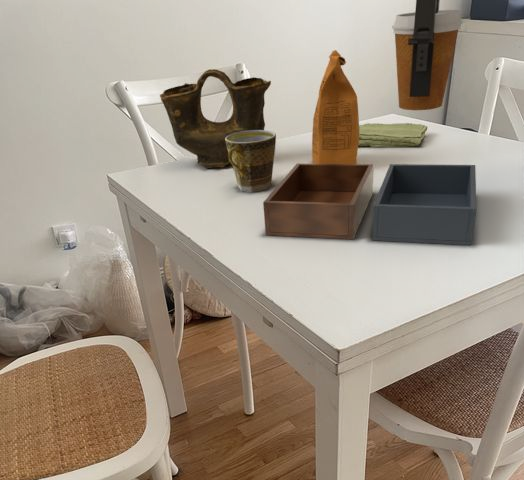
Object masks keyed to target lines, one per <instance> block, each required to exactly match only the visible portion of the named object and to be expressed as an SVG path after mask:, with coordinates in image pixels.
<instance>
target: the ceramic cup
mask: <svg viewBox="0 0 524 480" xmlns="http://www.w3.org/2000/svg"><path fill="white" fill-rule="evenodd" d="M225 141H226V145H227V149H228V153H229V161H230V162H229V164H231V165H232V168H233V172H234V176H235V179H236V184H237V186H238V188H239V189H240V191H241V192H245V193H246V192H247V193H254V192H261V191H265V190H267V189H268V188H270V187H271V186H272V181H273V170H274V162H275V161H274V159H275V154H276V145H277V144H276V142H277V134H276V133H275V132H274V131H271V130H266V129H264V130H250V131H243V132H238V133H234V134H231V135H229V136H227V137H226V138H225Z"/></svg>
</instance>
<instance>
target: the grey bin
mask: <svg viewBox="0 0 524 480" xmlns="http://www.w3.org/2000/svg"><path fill="white" fill-rule="evenodd" d="M476 177H477V176H476V164H422V163H421V164H420V163H419V164H418V163H417V164H412V163H411V164H408V163H407V164H406V163H405V164H404V163H390V164H389V166H388V168H387V170H386V174H385V176H384V179H383V181H382V184H381V186H380V188H379V191H378V192H377V193H378V194H377V196H376V199H375V201H374V203H373V206H372V231H371V232H372V233H371V240H372V241H377V242H399V243H419V244H420V243H421V244H439V245H459V246H460V245H461V246H472V240H473V234H474V227H475V222H476V221H475V220H476V214H477V178H476Z"/></svg>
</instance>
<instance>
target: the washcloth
mask: <svg viewBox="0 0 524 480" xmlns="http://www.w3.org/2000/svg"><path fill="white" fill-rule="evenodd" d="M427 131H428V125H425V124H420V123H413V122H410V123H409V122H406V123H405V122H404V123H378V122H377V123H368V122H367V123H364V124H359V145H358V147H371V148H377V147H378V148H380V147H385V148H386V147H387V148H398V147H401V148H402V147H406V148H407V147H415V146H416V147H418V146H419V145H420V144H421V142H422V140H423V138H424V137H425V136H426V132H427Z"/></svg>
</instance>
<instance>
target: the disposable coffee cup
mask: <svg viewBox="0 0 524 480" xmlns="http://www.w3.org/2000/svg"><path fill="white" fill-rule="evenodd" d="M463 22H464V20H462V16H461V10H459V9H443V10H441V9H439V10H438V13H436V15H435V25H434V41H433V43H434V50H433V61H432V72H431V84H430V95H429V96H427V97H410V82H411V68H412V53H413V45H408V38H412V35H413V33H414V23H415V12H407V13H401V14H397V15H395V19H394V23H393V25H392V26H391V29H393V34H394V43H395V59H396V61H395V62H396V79H397V94H398V95H397V96H398V108H399V109H401V110H406V111H416V112H417V111H429V110H430V111H431V110H436V109H440V108H441V107H442V106H443V102H444V99H445V98H444V97H445V92H446V88H447V84H448V81H449V80H448V79H449V75H450V71H451V70H450V69H451V67H452V61H453V56H454V52H455V48H456V43H457V38H458V33H459V30H460V29H461V25H462V24H463Z"/></svg>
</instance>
